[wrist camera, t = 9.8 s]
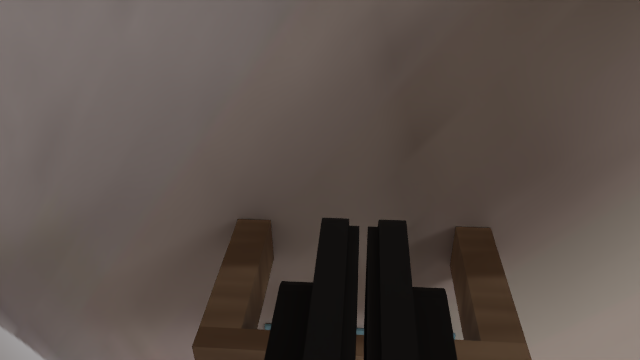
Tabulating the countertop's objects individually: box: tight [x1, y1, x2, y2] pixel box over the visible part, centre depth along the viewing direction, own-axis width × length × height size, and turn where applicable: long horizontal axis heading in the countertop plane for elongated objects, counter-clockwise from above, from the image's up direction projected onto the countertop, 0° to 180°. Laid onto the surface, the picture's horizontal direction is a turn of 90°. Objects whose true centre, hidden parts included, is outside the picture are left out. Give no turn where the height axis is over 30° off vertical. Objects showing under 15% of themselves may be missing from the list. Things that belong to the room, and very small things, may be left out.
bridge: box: [192, 219, 532, 360], centre depth 28 cm, size 3×15×10 cm, turn 91°
